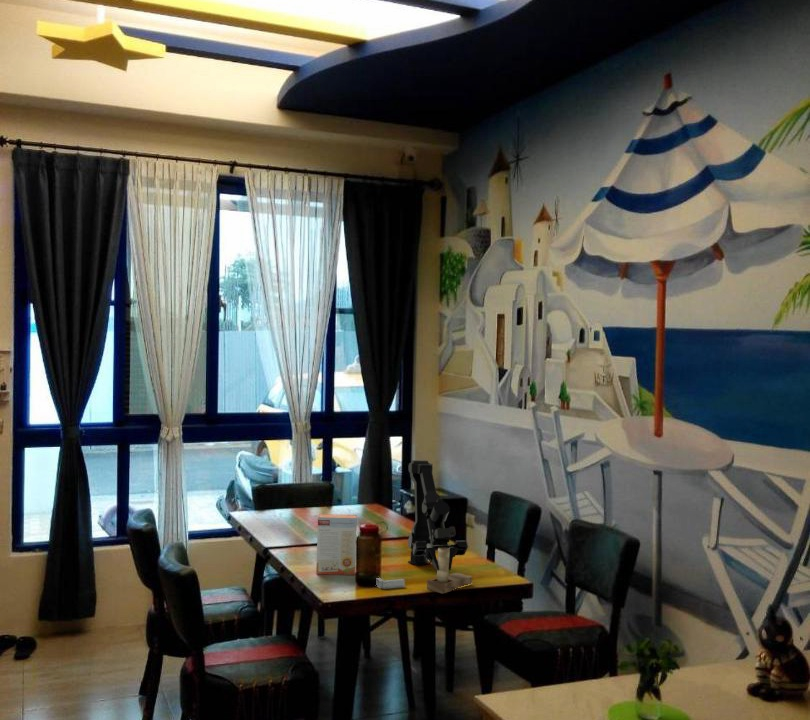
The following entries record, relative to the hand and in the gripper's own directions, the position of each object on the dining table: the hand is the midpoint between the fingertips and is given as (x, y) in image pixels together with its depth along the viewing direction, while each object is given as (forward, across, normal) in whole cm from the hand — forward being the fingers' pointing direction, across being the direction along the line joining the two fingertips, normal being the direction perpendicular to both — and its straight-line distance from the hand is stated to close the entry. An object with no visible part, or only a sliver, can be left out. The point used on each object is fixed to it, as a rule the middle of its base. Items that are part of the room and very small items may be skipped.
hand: (444, 569), depth 294 cm
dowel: (+4, 0, +6) cm, 7 cm away
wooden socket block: (+2, +3, +8) cm, 9 cm away
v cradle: (+1, -19, +9) cm, 21 cm away
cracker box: (-12, -34, +22) cm, 42 cm away
